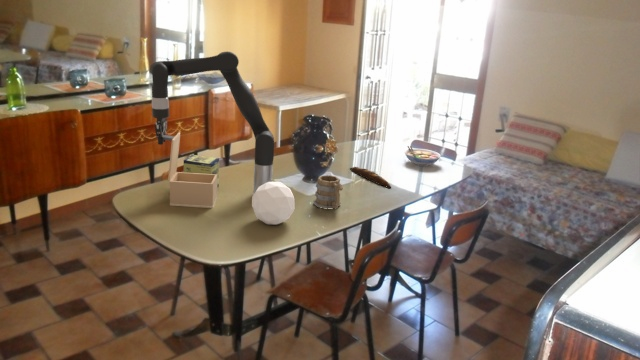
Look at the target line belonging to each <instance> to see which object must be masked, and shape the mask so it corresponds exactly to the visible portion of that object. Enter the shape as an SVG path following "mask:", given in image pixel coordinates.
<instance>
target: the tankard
mask: <svg viewBox="0 0 640 360" xmlns="http://www.w3.org/2000/svg"><path fill="white" fill-rule="evenodd" d="M315 188H316V191H315V194H314V196H315V197H316V198H315V199H314V200H313V201H312V202H313V203H314V204H315V205H316V206H317V207H322V208H327V209H328V208H337V209H339V207H340V206H341V205H340V204H342V203H341V200H340V199H341V198H340V196H341V193H340V191H343V190H344V188H343V185H342V183H341V179H340V178H338V176H334V175H329V174H326V175H320V176H319V177H318V178H317V181H316V184H315ZM313 203H312V204H313ZM314 204H313V205H314ZM315 205H314V206H315ZM339 205H340V206H339ZM316 206H315V207H316ZM338 206H339V207H338ZM317 207H316V208H317Z"/></svg>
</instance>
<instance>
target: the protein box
mask: <svg viewBox="0 0 640 360" xmlns="http://www.w3.org/2000/svg"><path fill="white" fill-rule="evenodd" d="M183 172H185V173H201V174H217V188H219V186H220V185H219V184H220V183H219V182H220V180H219V179H220V158H219V157H210V156H202V155H197V154H191V155H190V156H189V157H187V158H185V159H183Z"/></svg>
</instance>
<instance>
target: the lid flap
mask: <svg viewBox="0 0 640 360" xmlns="http://www.w3.org/2000/svg"><path fill="white" fill-rule="evenodd" d="M156 139H157V140H158V137H157V136H156ZM163 140H166V141H168V142H169V141H170V142H171V143H170V144H171V146H170V155H169V167H168V177H167V182H170V180H171V179H172V177H173V176H174V175H175V173H176V172H178V171H177V169H178V159H179V152H180V151H179V150H180V143H181V141H180V140H181V132H180V131H179V132H177V134H176V135H170V134H169V135H168V134H165V135H163Z"/></svg>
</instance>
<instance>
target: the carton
mask: <svg viewBox="0 0 640 360" xmlns="http://www.w3.org/2000/svg"><path fill="white" fill-rule="evenodd" d="M217 199H218V187H217V174H201V173H185V172H184V171H183V172H182V171H181V172H180V171H176V173H175V174H174V176H173V177H172V179H171V180H170V181H169V206H176V207H190V208H191V207H193V208H208V209H212V208H214V206H215V204H216V201H217Z"/></svg>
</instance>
